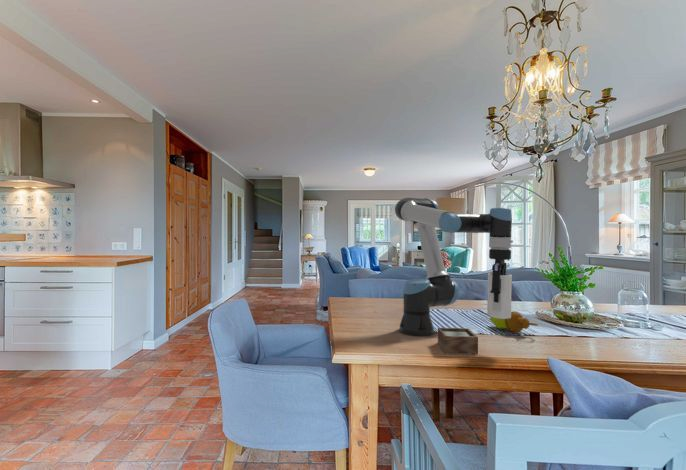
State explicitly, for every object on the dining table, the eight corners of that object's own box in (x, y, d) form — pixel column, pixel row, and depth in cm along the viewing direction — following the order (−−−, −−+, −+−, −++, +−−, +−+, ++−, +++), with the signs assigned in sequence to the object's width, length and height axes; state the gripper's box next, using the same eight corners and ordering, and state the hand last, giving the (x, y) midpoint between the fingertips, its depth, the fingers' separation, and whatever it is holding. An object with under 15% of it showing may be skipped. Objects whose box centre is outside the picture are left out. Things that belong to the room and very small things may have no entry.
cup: (513, 319, 124) (514, 275, 124) (489, 318, 125) (490, 274, 125) (507, 314, 132) (508, 273, 132) (485, 312, 133) (485, 272, 133)
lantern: (481, 327, 163) (528, 334, 140) (482, 308, 165) (529, 312, 142) (495, 329, 166) (543, 337, 144) (496, 311, 168) (544, 315, 146)
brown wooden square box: (444, 353, 125) (444, 336, 125) (437, 343, 137) (437, 327, 137) (477, 354, 124) (477, 337, 124) (468, 343, 136) (468, 328, 136)
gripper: (505, 250, 118) (504, 315, 118) (515, 248, 135) (514, 305, 135) (482, 249, 122) (481, 312, 122) (495, 247, 139) (494, 302, 139)
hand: (499, 308), depth 129 cm, fingers closed on cup, 8 cm apart
